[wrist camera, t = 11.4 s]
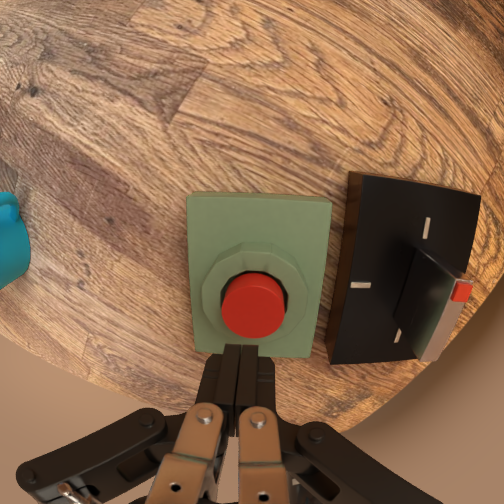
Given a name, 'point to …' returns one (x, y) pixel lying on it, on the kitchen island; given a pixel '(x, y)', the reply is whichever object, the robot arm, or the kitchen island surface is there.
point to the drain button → (253, 306)
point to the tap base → (390, 259)
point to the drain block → (257, 263)
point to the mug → (12, 241)
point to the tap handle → (431, 303)
